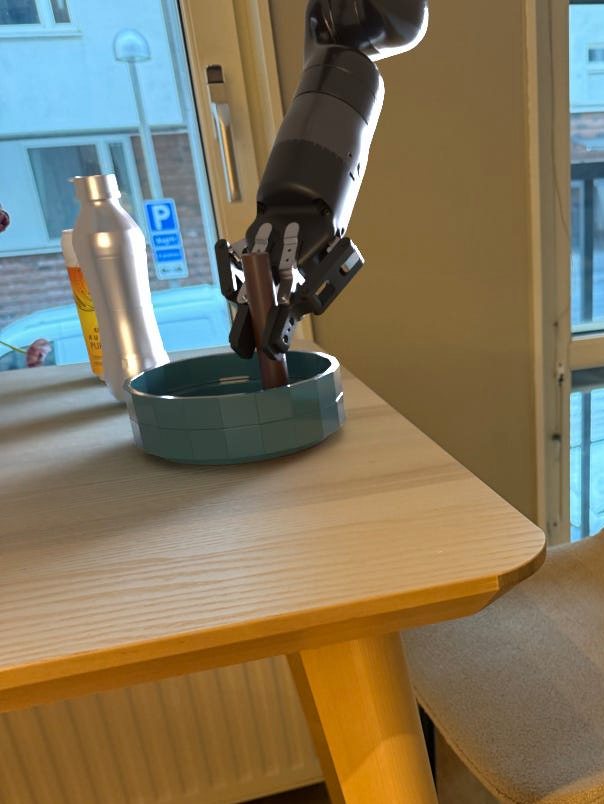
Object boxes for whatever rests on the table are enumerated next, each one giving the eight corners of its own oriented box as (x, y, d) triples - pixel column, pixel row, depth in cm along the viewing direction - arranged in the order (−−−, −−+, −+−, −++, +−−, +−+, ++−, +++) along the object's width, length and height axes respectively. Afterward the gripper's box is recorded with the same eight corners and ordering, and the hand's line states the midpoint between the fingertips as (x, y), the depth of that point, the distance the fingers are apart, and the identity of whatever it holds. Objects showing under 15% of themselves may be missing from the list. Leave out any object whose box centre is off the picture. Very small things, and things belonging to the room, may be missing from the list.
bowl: (104, 473, 72) (86, 402, 69) (179, 413, 87) (167, 353, 84) (324, 466, 70) (314, 393, 68) (361, 407, 85) (354, 345, 83)
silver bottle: (176, 389, 95) (131, 172, 86) (179, 404, 90) (131, 174, 80) (111, 397, 94) (57, 177, 84) (109, 413, 88) (52, 179, 78)
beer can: (96, 385, 99) (58, 233, 92) (92, 374, 104) (56, 229, 97) (154, 377, 101) (121, 227, 94) (148, 367, 106) (117, 224, 99)
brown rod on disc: (239, 431, 75) (207, 260, 69) (257, 412, 80) (229, 251, 74) (307, 428, 75) (281, 256, 69) (321, 409, 80) (298, 247, 74)
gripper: (221, 140, 76) (155, 324, 72) (369, 130, 71) (306, 328, 67) (269, 205, 83) (211, 376, 79) (407, 201, 78) (352, 383, 74)
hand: (255, 353), depth 73 cm, fingers closed on brown rod on disc
